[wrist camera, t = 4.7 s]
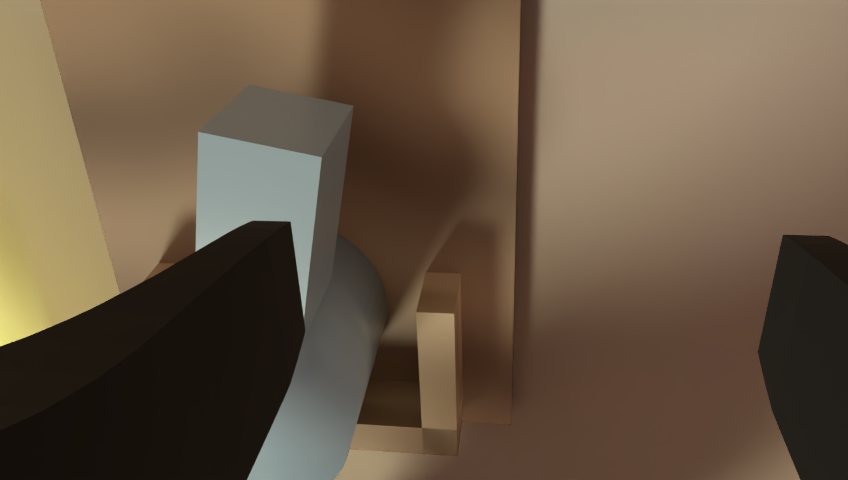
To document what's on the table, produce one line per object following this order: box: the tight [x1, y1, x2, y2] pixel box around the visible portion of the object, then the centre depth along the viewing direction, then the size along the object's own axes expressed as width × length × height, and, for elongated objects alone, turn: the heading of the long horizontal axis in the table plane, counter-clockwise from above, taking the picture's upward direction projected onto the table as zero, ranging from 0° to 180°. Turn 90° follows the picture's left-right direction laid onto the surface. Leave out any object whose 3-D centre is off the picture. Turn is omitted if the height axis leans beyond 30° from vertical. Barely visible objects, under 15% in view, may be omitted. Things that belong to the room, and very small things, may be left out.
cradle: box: [40, 0, 521, 456], centre depth 20 cm, size 18×12×3 cm, turn 2°
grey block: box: [196, 85, 388, 480], centre depth 19 cm, size 5×10×5 cm, turn 171°
